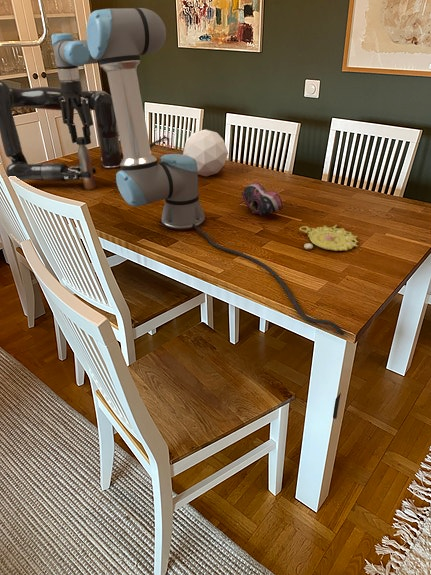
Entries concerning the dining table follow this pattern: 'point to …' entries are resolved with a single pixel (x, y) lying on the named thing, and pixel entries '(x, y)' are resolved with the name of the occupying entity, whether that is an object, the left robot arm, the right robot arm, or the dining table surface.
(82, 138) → the cap
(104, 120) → the left robot arm
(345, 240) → the decorative object
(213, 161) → the sphere
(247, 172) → the dining table surface
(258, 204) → the athletic shoe
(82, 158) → the bottle
